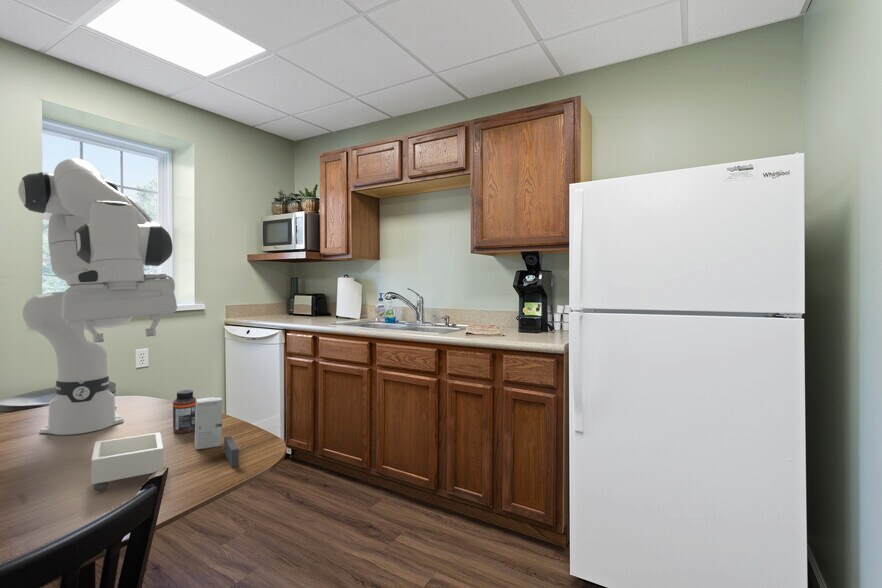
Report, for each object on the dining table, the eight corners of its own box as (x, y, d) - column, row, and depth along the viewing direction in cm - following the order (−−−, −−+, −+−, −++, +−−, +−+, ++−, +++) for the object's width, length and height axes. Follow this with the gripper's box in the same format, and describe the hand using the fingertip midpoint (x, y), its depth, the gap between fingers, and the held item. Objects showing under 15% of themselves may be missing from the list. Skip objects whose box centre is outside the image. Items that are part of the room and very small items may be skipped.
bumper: (224, 453, 112) (224, 437, 112) (230, 452, 113) (230, 436, 112) (231, 467, 104) (231, 450, 103) (238, 465, 104) (238, 448, 104)
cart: (95, 474, 98) (95, 441, 98) (160, 462, 105) (160, 432, 105) (91, 496, 88) (91, 460, 88) (163, 481, 95) (163, 448, 95)
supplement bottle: (176, 427, 130) (176, 389, 130) (199, 426, 131) (199, 388, 131) (169, 434, 124) (169, 394, 124) (193, 433, 126) (193, 393, 125)
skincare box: (195, 450, 113) (196, 402, 113) (194, 444, 117) (194, 398, 117) (222, 445, 117) (223, 399, 116) (220, 440, 120) (220, 395, 120)
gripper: (169, 275, 106) (175, 333, 106) (56, 278, 91) (63, 346, 91) (177, 272, 102) (183, 332, 102) (61, 275, 87) (68, 346, 87)
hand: (125, 339), depth 96 cm, fingers open, 8 cm apart
